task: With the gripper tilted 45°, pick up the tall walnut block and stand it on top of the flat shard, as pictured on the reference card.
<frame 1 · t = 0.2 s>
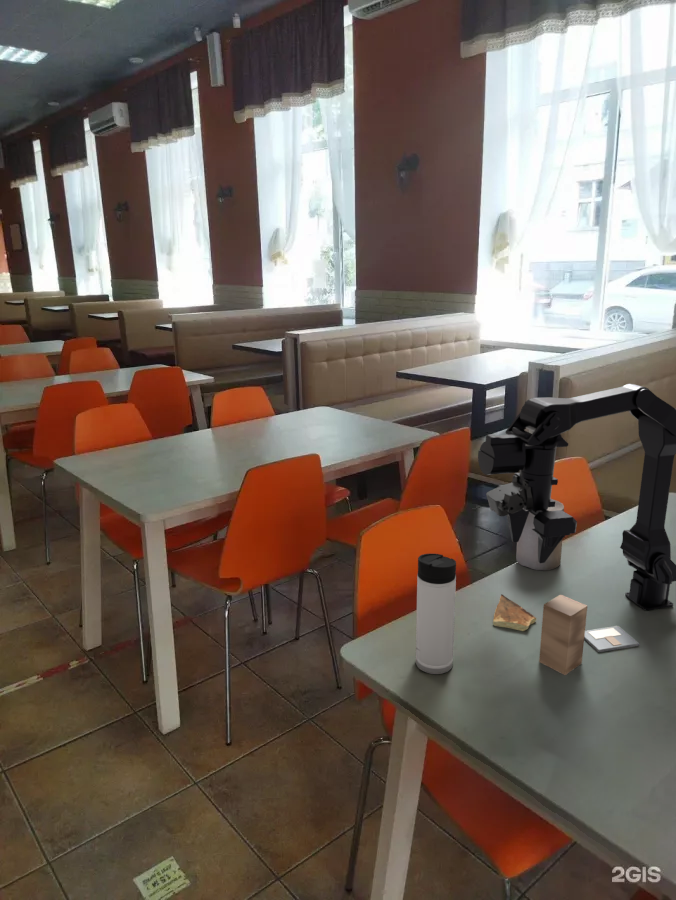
hand: (527, 552, 121), 14 cm above the table, tool pointing down, fingers open, 9 cm apart
shard: (505, 619, 128), on the table
pillar candle: (537, 561, 150), on the table
reference card: (608, 639, 119), on the table
travel mug: (433, 665, 113), on the table
walnut block: (560, 662, 113), on the table
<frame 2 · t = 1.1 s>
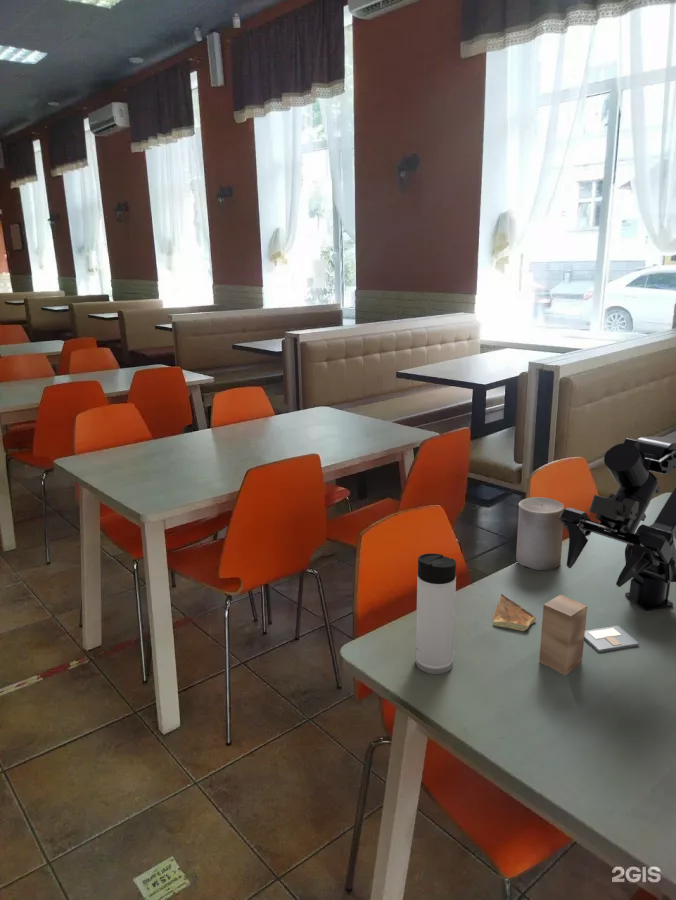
hand: (592, 576, 114), 13 cm above the table, tool tilted 45°, fingers open, 9 cm apart
nothing on the table moved.
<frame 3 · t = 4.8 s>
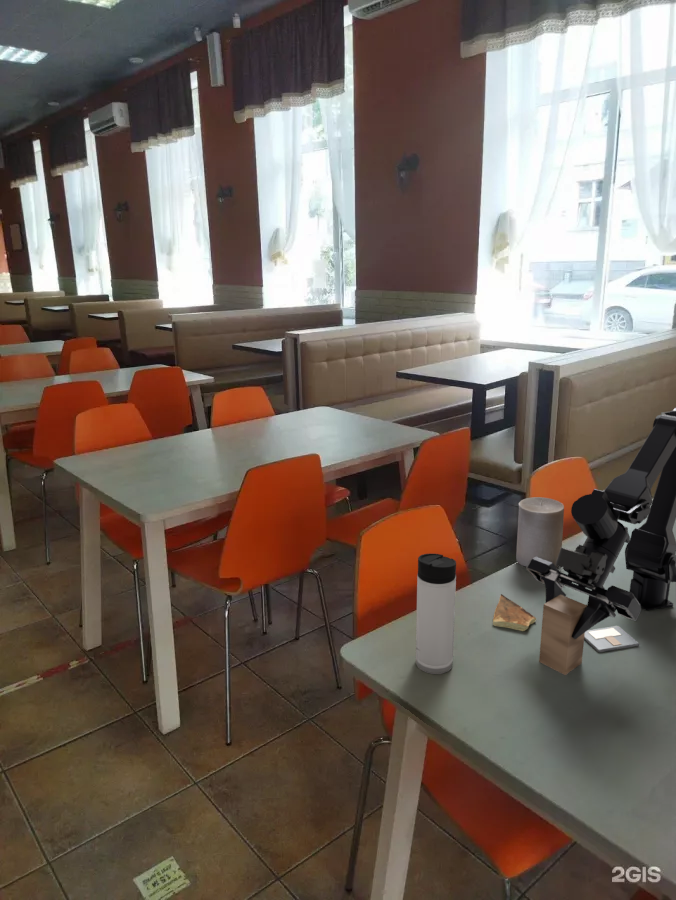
hand: (558, 631, 110), 7 cm above the table, tool tilted 45°, fingers closed on walnut block, 5 cm apart
walnut block: (560, 662, 113), on the table, touching gripper
everything else where it was.
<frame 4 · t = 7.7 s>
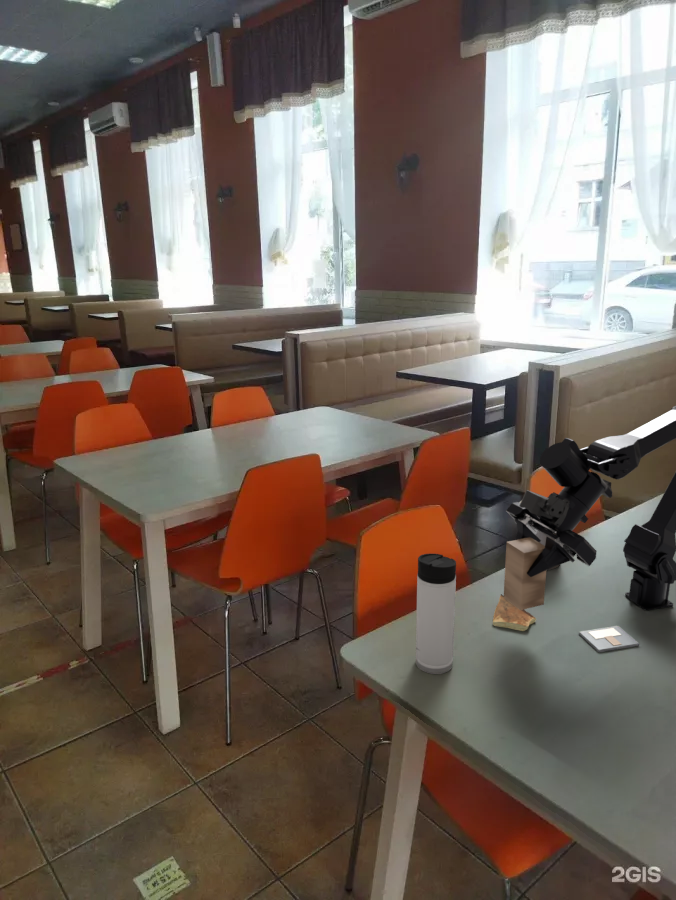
hand: (519, 568, 117), 13 cm above the table, tool tilted 45°, fingers closed on walnut block, 5 cm apart
walnut block: (523, 600, 119), point 7 cm above the table, touching gripper
everything else where it was.
when the fingers open (10 cm above the table, at t = 10.7 s): walnut block drops 2 cm, point 1 cm above the table.
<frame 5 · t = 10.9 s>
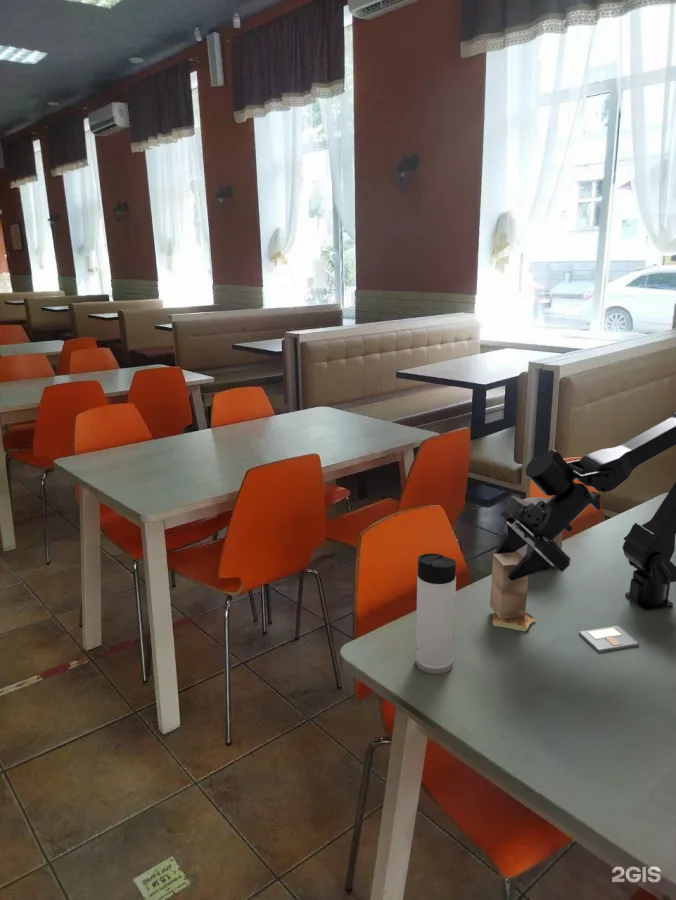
hand: (501, 569, 124), 10 cm above the table, tool tilted 45°, fingers open, 7 cm apart
walnut block: (507, 611, 127), point 1 cm above the table
everything else where it was.
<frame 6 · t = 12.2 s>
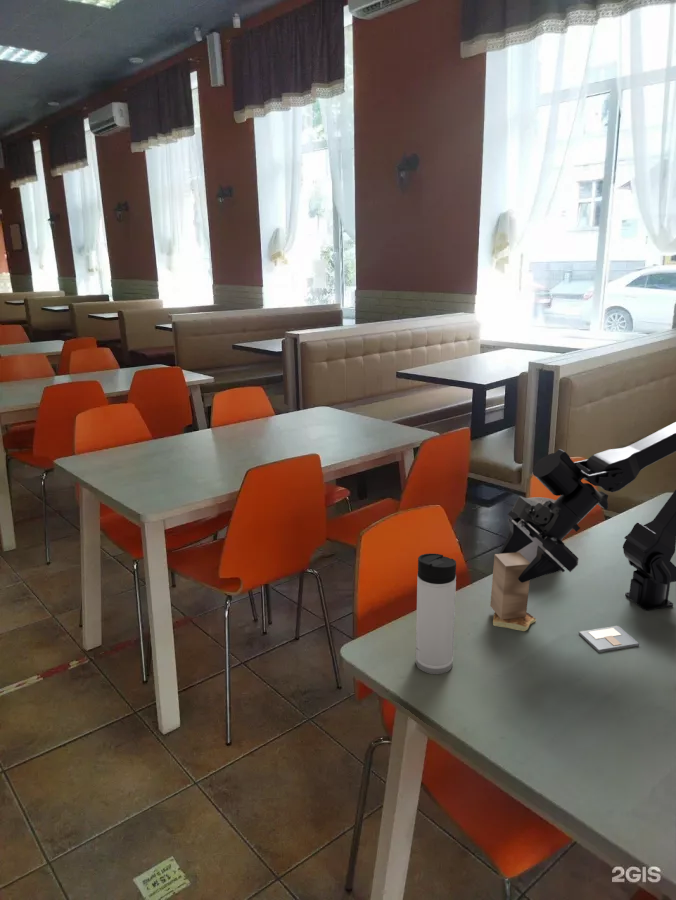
hand: (509, 569, 125), 10 cm above the table, tool tilted 45°, fingers open, 9 cm apart
nothing on the table moved.
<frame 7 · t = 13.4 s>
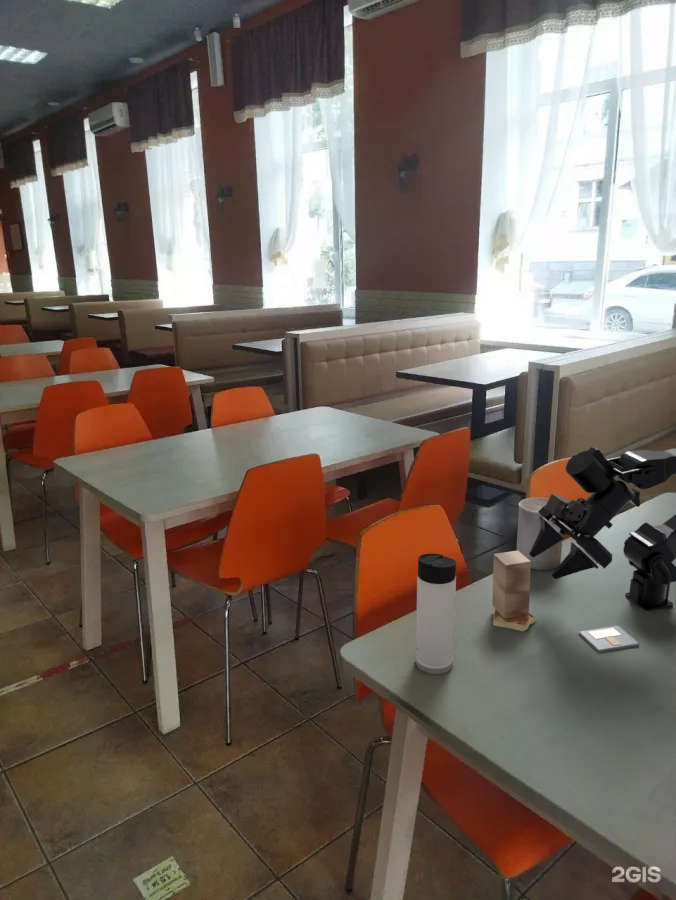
hand: (541, 566, 126), 10 cm above the table, tool tilted 45°, fingers open, 9 cm apart
shard: (505, 620, 128), on the table, touching walnut block
walnut block: (510, 610, 127), point 1 cm above the table, touching shard
everything else where it was.
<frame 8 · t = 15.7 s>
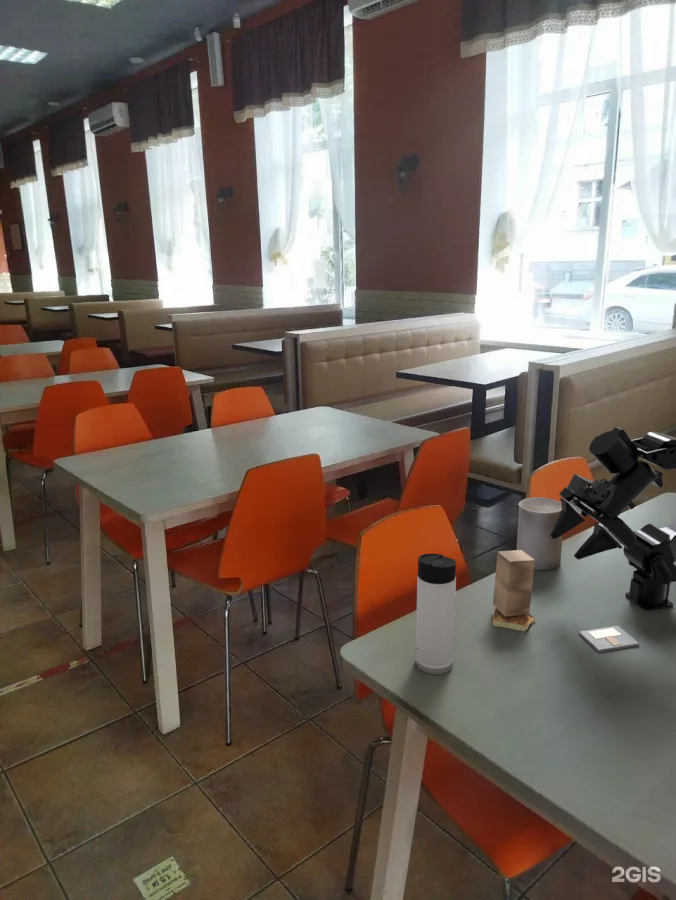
hand: (563, 547, 125), 14 cm above the table, tool tilted 45°, fingers open, 9 cm apart
at the end: walnut block 1.1 cm off-centre on the shard, point 2.3 cm above the shard's base; walnut block tilted 4°; the gripper is holding nothing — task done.
